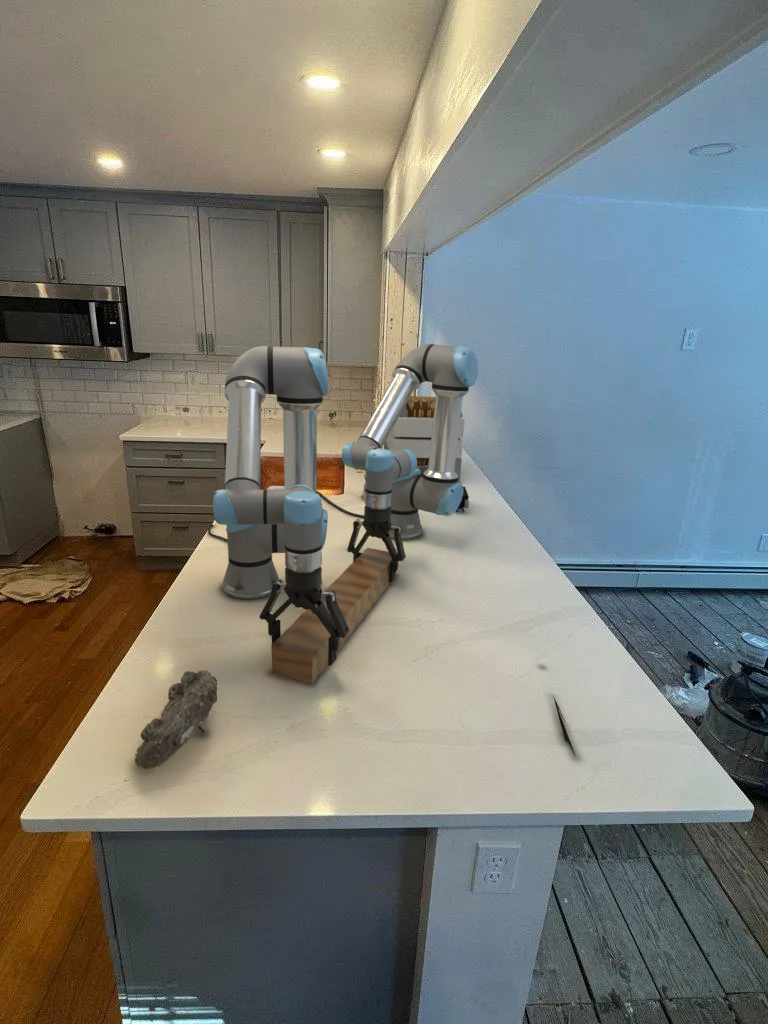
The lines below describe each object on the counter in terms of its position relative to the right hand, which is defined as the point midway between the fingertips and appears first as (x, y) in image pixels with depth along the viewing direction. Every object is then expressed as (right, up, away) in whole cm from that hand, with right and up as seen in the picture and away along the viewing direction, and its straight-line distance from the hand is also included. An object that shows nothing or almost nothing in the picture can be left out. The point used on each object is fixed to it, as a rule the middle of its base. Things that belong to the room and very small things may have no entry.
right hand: (375, 577), depth 165 cm
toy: (-36, +17, +44) cm, 59 cm away
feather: (+38, -20, -50) cm, 66 cm away
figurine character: (+33, +21, +63) cm, 74 cm away
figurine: (-2, +25, +71) cm, 75 cm away
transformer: (+20, +38, +110) cm, 118 cm away
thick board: (-8, -7, -20) cm, 23 cm away
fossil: (-34, -21, -61) cm, 73 cm away
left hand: (-15, -12, -41) cm, 46 cm away
